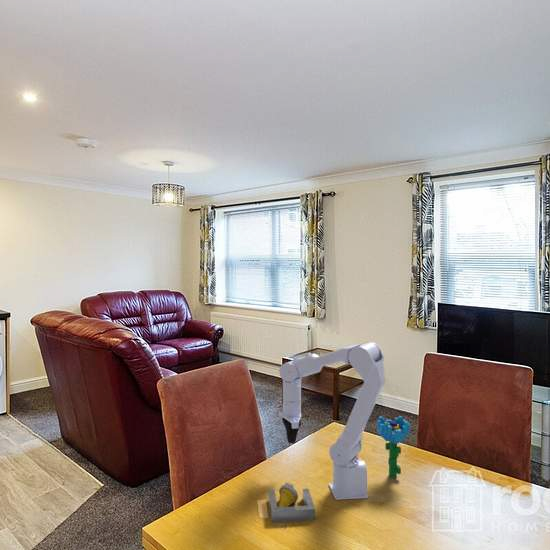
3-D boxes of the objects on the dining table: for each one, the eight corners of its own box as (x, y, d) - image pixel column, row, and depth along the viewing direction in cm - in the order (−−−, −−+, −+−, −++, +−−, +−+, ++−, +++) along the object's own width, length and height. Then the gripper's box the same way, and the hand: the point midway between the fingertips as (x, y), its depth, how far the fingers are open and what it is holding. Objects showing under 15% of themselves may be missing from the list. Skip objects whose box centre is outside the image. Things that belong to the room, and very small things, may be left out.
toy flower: (374, 469, 129) (374, 414, 128) (401, 469, 129) (401, 413, 129) (383, 485, 120) (384, 425, 119) (412, 484, 120) (413, 424, 120)
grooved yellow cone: (293, 494, 114) (277, 524, 106) (281, 480, 115) (264, 508, 107) (306, 490, 111) (290, 519, 103) (293, 474, 112) (277, 503, 104)
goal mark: (265, 500, 112) (265, 499, 112) (268, 518, 104) (268, 517, 104) (257, 500, 111) (257, 500, 111) (259, 518, 103) (259, 517, 103)
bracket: (308, 499, 112) (308, 488, 112) (315, 520, 103) (315, 509, 103) (268, 501, 111) (268, 490, 111) (271, 523, 102) (271, 511, 102)
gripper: (276, 392, 132) (276, 433, 133) (282, 407, 118) (281, 453, 118) (297, 391, 133) (297, 432, 134) (305, 407, 119) (305, 452, 119)
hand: (291, 442), depth 126 cm, fingers closed
